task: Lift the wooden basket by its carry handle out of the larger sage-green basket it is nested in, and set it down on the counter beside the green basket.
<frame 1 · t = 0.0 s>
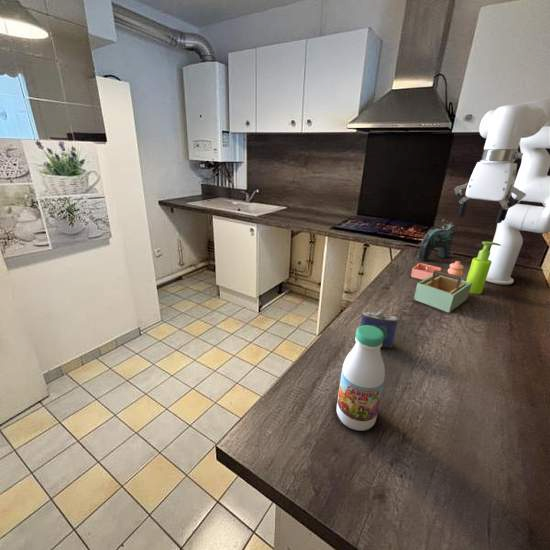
hand: (479, 219, 86), 31 cm above the worktop, tool pointing down, fingers open, 9 cm apart
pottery: (436, 280, 122), on the worktop
dark green animal figurine: (434, 258, 148), on the worktop
milk bottle: (355, 415, 58), on the worktop
green basket: (440, 300, 105), on the worktop, touching wooden basket
wooden basket: (440, 299, 105), point 1 cm above the worktop, touching green basket
soap dispenser: (473, 292, 113), on the worktop
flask: (374, 344, 80), on the worktop
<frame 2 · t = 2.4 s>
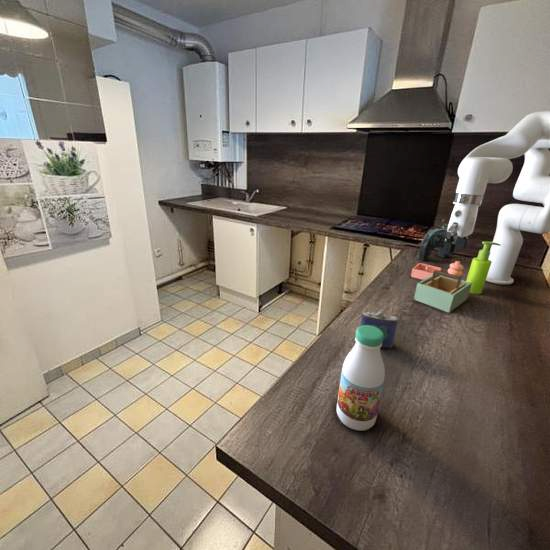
hand: (453, 251, 98), 19 cm above the worktop, tool pointing down, fingers open, 9 cm apart
nothing on the worktop moved.
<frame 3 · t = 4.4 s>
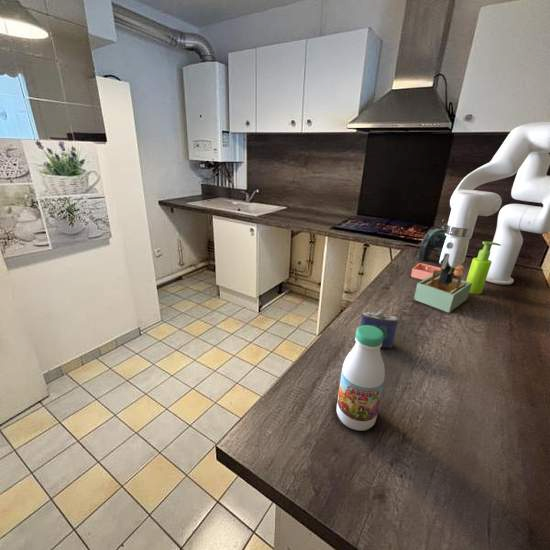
hand: (445, 282, 102), 7 cm above the worktop, tool pointing down, fingers closed on wooden basket
wooden basket: (440, 299, 105), point 1 cm above the worktop, touching green basket, gripper
everything else where it was.
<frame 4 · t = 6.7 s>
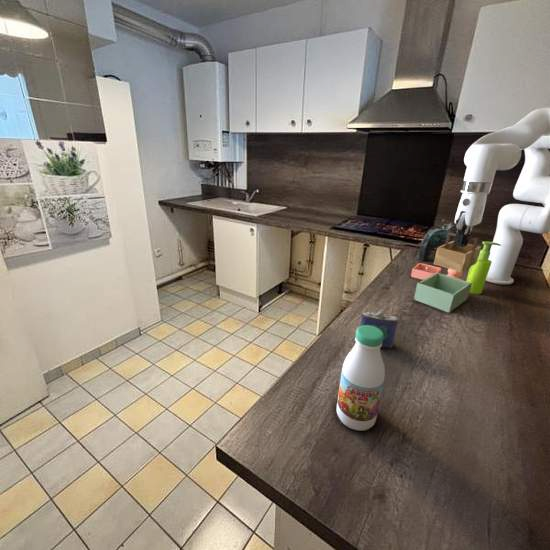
hand: (460, 245, 96), 21 cm above the worktop, tool pointing down, fingers closed on wooden basket
green basket: (440, 300, 105), on the worktop
wooden basket: (455, 263, 99), point 15 cm above the worktop, touching gripper
everything else where it was.
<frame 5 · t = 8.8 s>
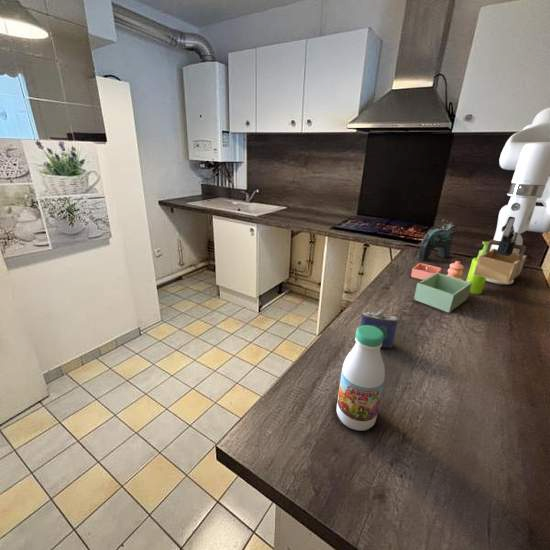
hand: (503, 253, 87), 22 cm above the worktop, tool pointing down, fingers closed on wooden basket
wooden basket: (496, 274, 90), point 15 cm above the worktop, touching gripper
everything else where it was.
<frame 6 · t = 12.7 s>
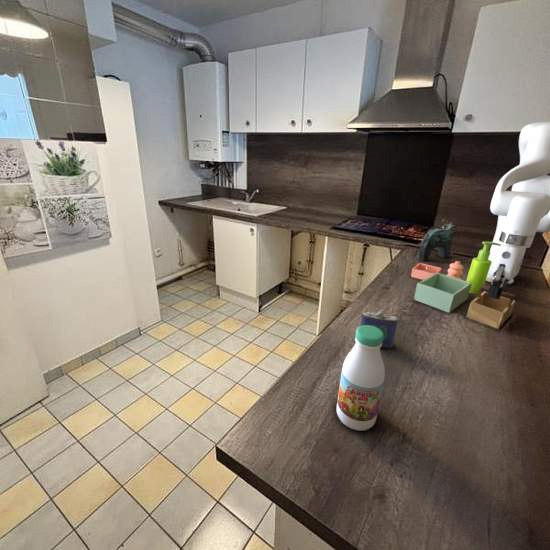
hand: (496, 294, 91), 8 cm above the worktop, tool pointing down, fingers open, 4 cm apart
wooden basket: (487, 317, 95), on the worktop
everything else where it was.
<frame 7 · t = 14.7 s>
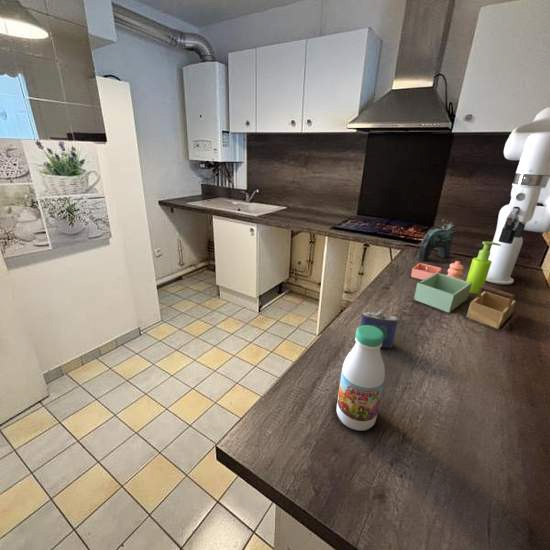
hand: (509, 239, 88), 25 cm above the worktop, tool pointing down, fingers open, 9 cm apart
nothing on the worktop moved.
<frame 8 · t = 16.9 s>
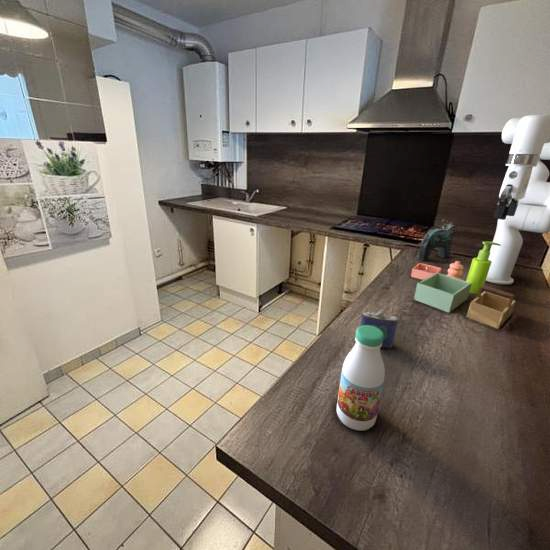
hand: (503, 217, 95), 30 cm above the worktop, tool pointing down, fingers open, 9 cm apart
nothing on the worktop moved.
at the end: wooden basket inside the target area (0.1 cm from its centre), on the worktop; wooden basket tilted 0°; green basket moved 0.0 cm from its start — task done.
